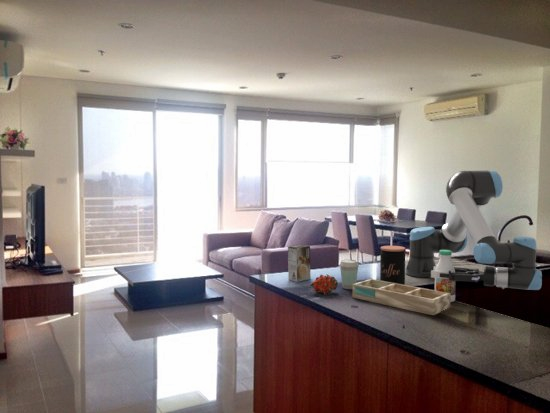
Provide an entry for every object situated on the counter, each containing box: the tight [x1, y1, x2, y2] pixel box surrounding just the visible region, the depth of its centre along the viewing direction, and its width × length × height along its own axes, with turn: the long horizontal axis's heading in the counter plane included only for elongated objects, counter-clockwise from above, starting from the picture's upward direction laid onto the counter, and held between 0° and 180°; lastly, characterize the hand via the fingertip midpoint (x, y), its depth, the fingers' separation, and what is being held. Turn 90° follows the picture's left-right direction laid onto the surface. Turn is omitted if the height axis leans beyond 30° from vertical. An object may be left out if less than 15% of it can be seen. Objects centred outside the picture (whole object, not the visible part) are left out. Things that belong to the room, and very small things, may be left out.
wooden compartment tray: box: [351, 278, 451, 316], centre depth 187 cm, size 14×35×6 cm, turn 45°
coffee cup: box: [339, 258, 360, 290], centre depth 211 cm, size 8×9×12 cm
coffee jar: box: [379, 245, 406, 285], centre depth 210 cm, size 11×11×18 cm
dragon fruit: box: [310, 274, 339, 295], centre depth 202 cm, size 8×8×12 cm
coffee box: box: [287, 244, 311, 282], centre depth 228 cm, size 9×6×16 cm
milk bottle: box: [434, 250, 456, 303], centre depth 189 cm, size 8×8×20 cm
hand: (432, 271), depth 191 cm, fingers closed on milk bottle, 7 cm apart
